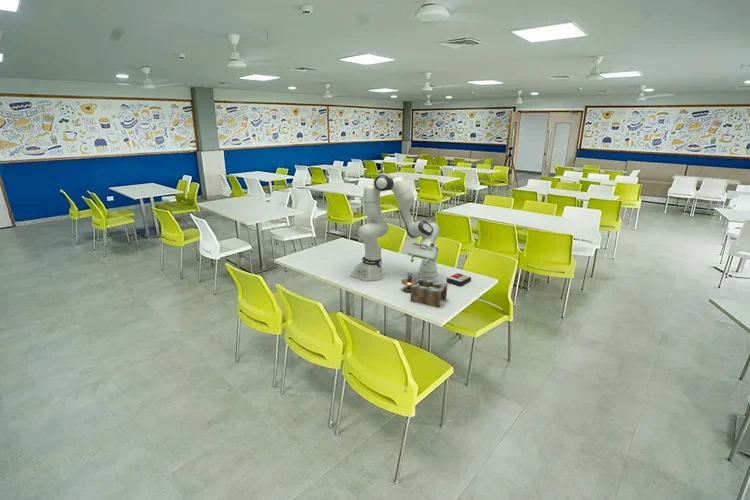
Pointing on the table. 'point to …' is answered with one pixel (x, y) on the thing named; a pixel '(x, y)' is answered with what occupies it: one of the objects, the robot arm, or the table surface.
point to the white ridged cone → (428, 269)
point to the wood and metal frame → (428, 292)
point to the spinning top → (408, 282)
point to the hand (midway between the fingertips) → (417, 263)
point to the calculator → (458, 279)
